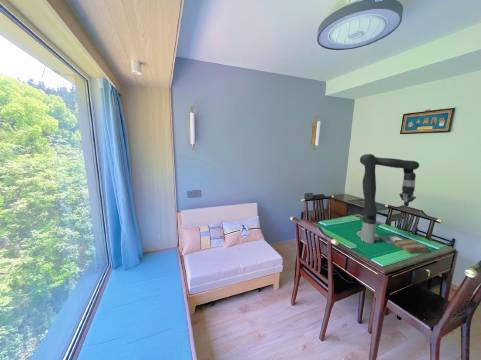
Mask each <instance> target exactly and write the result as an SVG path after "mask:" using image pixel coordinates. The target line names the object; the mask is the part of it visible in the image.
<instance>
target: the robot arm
mask: <svg viewBox="0 0 481 360" xmlns="http://www.w3.org/2000/svg"><path fill="white" fill-rule="evenodd" d="M359 162H360V163H361V165H362V166H364V174H363V177H362V193H363V199H364V202H363V203H364V204H363V214H362V215H363V217H362V225H361V226H362V227H361V229H360V240H361V241H362V242H363V241H364V242H363V243H365V242H366V244H374V243H375V235H376V224H377V215H378V214H377V213H378V208H377V205H376V193H377V181H376V166H381V167H387V168H396V169H403V180H402V187H401V191H402V192H401V193H398V194H399V197H400V199H401V201H403V206H404V207H409V204H410V203H411V202H414V200H416V199H417V197H416V196H414V192H415V187H416V173H415V172H414V170H417V169H419V167H420V164H419V162H418V161H415V160H406V159H405V160H404V159H399V158H391V157H387V158H386V157H377V156H375V155H374V154H371V153H365V154H362V156H360V159H359Z"/></svg>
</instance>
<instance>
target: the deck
mask: <svg viewBox="0 0 481 360" xmlns="http://www.w3.org/2000/svg"><path fill="white" fill-rule="evenodd" d="M405 239H406V238H405ZM394 246H396V247H397V248H399V249H401V250H403V251H405V252H407V253H408V254H424V253H428V252H429V247H428V246H425V245H423V244H422V243H419V242H417V241H415V240H413V239H411V238H410V239H408V238H407V239H406V240H395V243H394Z"/></svg>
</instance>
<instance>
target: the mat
mask: <svg viewBox="0 0 481 360" xmlns="http://www.w3.org/2000/svg"><path fill="white" fill-rule="evenodd" d="M376 237H377V238H379V239H380V240H382V241H384V242H385V243H387V244H389V245H393V244H394V243H395V242H394V241H393V240H391V239H390V237H398V238H400V239H402V240H406V238H404V237H402V236H400V235H398V234H395V235H394V234H391V235H390V234H388V235H376Z"/></svg>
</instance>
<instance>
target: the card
mask: <svg viewBox="0 0 481 360" xmlns="http://www.w3.org/2000/svg"><path fill="white" fill-rule="evenodd" d="M390 239H391V240H393V241H394V242H395V240H402V239H400V238H398V237H390Z"/></svg>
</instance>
